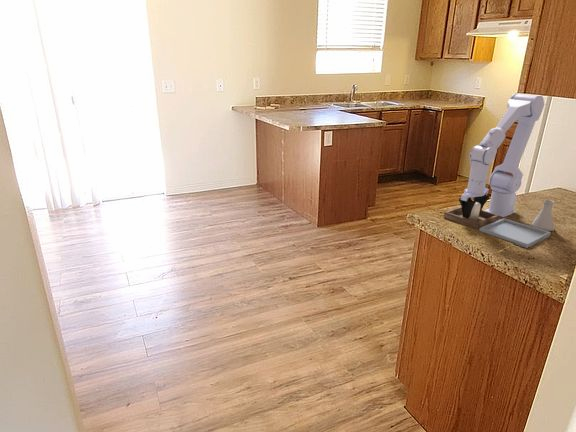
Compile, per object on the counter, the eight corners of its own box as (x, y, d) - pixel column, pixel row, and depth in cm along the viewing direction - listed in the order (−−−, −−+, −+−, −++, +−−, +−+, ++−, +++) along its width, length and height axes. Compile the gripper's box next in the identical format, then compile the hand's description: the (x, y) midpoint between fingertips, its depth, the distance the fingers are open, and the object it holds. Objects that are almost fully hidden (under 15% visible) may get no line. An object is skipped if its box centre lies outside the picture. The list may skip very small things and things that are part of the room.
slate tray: (503, 221, 151) (503, 218, 151) (549, 236, 139) (550, 232, 139) (478, 231, 142) (479, 227, 142) (526, 248, 130) (527, 244, 130)
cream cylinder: (468, 215, 156) (470, 200, 154) (480, 219, 152) (483, 204, 150) (460, 218, 153) (463, 203, 151) (473, 222, 149) (476, 206, 147)
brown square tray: (464, 211, 161) (465, 204, 161) (498, 221, 151) (499, 215, 150) (443, 218, 154) (444, 212, 153) (477, 230, 144) (478, 223, 143)
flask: (557, 232, 142) (565, 205, 139) (534, 231, 144) (541, 203, 140) (549, 225, 149) (556, 198, 145) (527, 223, 150) (534, 197, 147)
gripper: (478, 174, 154) (472, 208, 159) (455, 180, 146) (449, 216, 151) (496, 178, 149) (489, 214, 154) (474, 185, 141) (467, 222, 146)
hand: (471, 215), depth 152 cm, fingers open, 6 cm apart
